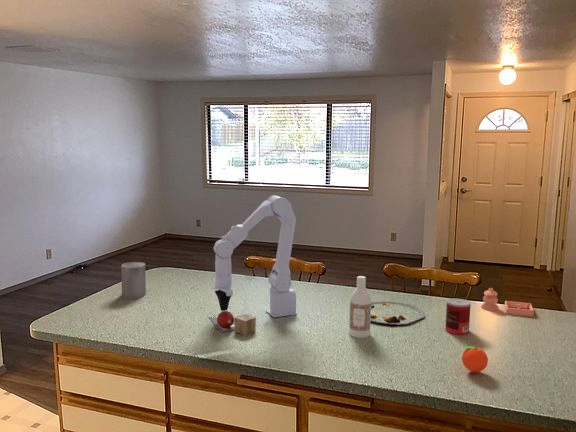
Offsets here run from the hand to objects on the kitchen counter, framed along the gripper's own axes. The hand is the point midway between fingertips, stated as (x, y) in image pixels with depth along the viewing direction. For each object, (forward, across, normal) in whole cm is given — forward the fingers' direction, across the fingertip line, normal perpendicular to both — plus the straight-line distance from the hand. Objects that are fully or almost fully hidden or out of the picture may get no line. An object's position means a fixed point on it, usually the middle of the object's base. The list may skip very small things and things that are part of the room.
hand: (224, 310), depth 182 cm
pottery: (+5, +34, +101) cm, 107 cm away
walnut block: (+1, +12, +2) cm, 12 cm away
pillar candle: (+4, -43, -26) cm, 50 cm away
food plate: (+5, +20, +58) cm, 62 cm away
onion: (+1, +4, -2) cm, 5 cm away
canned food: (+5, +42, +70) cm, 82 cm away
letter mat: (+4, +2, +1) cm, 4 cm away
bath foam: (+4, +31, +38) cm, 49 cm away
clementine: (+4, +67, +52) cm, 85 cm away
